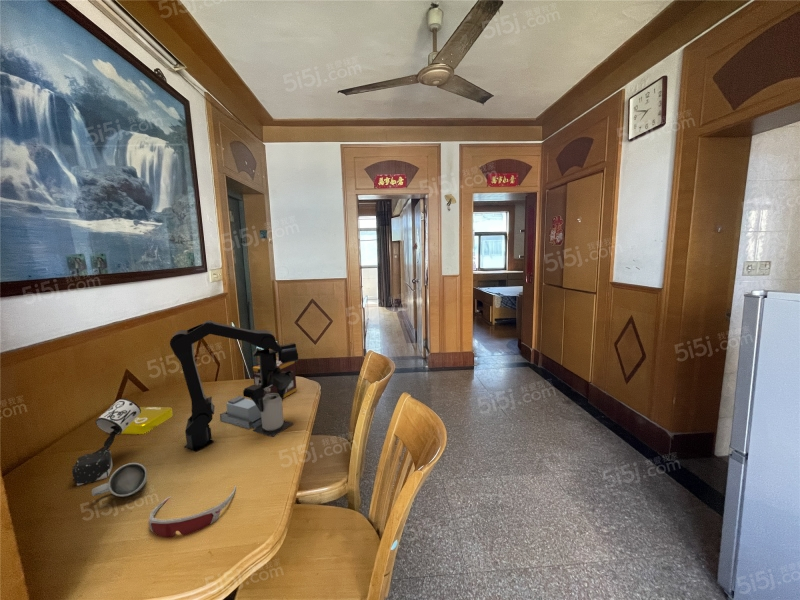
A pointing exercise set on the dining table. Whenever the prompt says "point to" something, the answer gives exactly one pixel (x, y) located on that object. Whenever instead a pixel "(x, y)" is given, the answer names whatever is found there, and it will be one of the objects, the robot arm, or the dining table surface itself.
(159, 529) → the sunglasses
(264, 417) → the can
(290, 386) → the supplement box
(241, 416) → the grey stepped machine block
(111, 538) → the dining table surface
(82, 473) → the table lamp
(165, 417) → the element tile
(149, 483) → the dining table surface
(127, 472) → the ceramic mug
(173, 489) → the dining table surface
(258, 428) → the base
